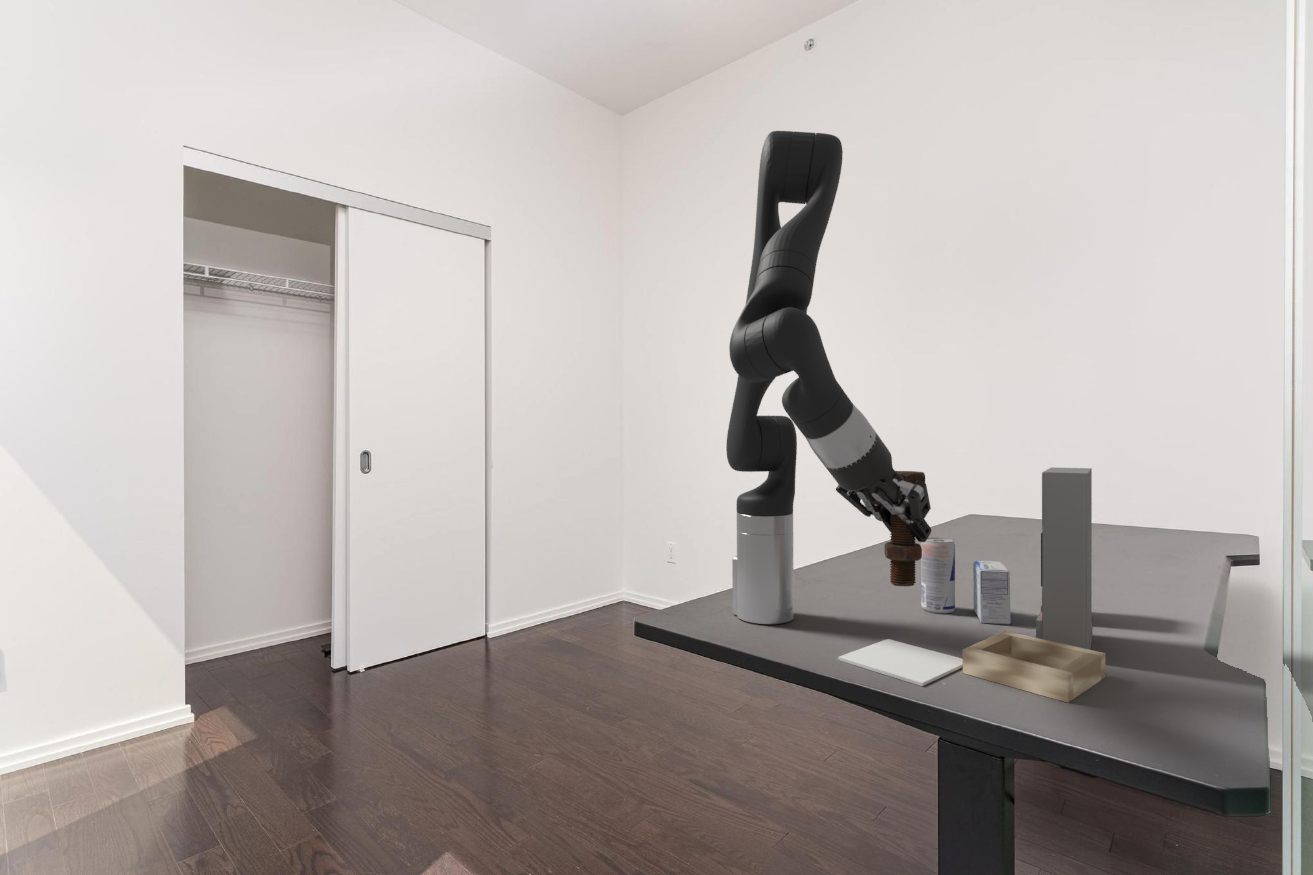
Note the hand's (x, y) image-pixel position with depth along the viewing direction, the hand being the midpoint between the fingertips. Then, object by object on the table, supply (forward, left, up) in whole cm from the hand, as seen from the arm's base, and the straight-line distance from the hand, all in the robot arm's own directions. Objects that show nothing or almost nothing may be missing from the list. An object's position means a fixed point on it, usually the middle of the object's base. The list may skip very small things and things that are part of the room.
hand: (913, 534), depth 89 cm
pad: (0, -2, -17) cm, 17 cm away
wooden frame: (+13, +6, -17) cm, 22 cm away
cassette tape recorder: (+11, +22, -17) cm, 30 cm away
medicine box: (-2, +28, -17) cm, 33 cm away
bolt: (0, -2, -7) cm, 7 cm away
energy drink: (-10, +26, -17) cm, 33 cm away
